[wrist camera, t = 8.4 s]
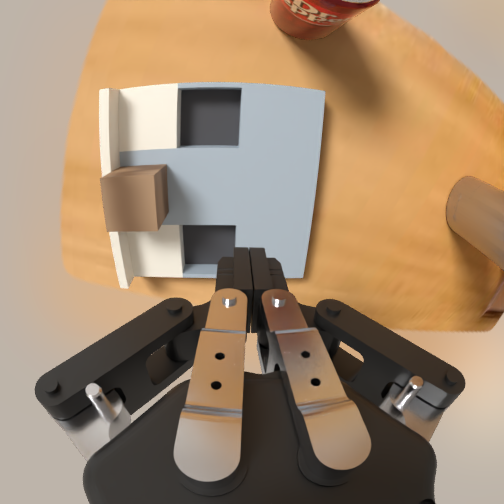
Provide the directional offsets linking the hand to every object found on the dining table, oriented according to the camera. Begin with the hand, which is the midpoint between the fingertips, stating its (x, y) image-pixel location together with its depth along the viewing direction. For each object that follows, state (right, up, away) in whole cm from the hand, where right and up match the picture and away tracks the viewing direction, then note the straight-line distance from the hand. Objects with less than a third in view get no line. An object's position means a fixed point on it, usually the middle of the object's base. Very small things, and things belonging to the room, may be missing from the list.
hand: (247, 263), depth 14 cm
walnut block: (-11, +7, +13) cm, 18 cm away
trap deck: (-4, +8, +15) cm, 18 cm away
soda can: (+6, +26, +7) cm, 27 cm away
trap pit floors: (-4, +8, +15) cm, 18 cm away
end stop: (-14, +7, +12) cm, 20 cm away
